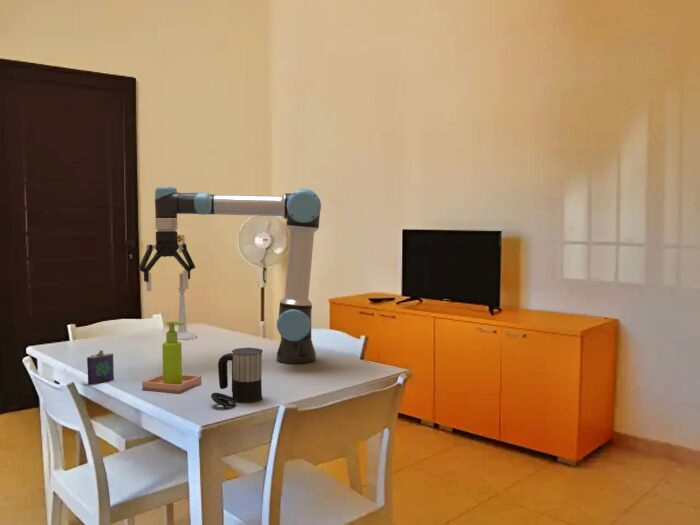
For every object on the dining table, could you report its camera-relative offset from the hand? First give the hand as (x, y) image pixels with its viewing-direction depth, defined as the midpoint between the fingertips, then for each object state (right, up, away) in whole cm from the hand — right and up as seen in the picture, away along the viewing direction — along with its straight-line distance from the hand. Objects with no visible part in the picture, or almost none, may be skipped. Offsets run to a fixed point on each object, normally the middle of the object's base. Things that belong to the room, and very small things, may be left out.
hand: (167, 289), depth 232 cm
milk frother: (+32, -32, -41) cm, 61 cm away
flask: (-17, -30, -18) cm, 39 cm away
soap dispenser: (+9, -29, -24) cm, 39 cm away
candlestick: (-11, -25, +62) cm, 68 cm away
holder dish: (+8, -30, -24) cm, 39 cm away
